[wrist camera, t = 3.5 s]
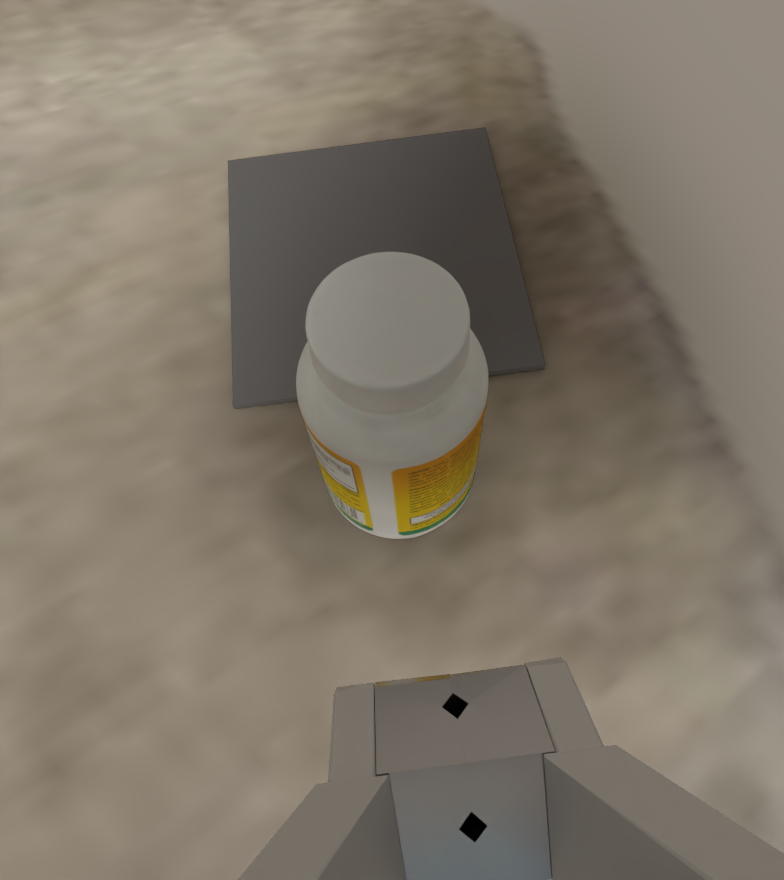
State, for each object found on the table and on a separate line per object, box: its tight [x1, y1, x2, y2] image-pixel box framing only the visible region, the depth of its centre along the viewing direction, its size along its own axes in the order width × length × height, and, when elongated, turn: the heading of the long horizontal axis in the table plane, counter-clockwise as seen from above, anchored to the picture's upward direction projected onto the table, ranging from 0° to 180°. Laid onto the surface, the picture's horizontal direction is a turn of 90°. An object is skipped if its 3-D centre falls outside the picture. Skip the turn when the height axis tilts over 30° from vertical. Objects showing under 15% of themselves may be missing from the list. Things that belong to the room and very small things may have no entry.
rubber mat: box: [228, 128, 545, 409], centre depth 29 cm, size 12×13×1 cm
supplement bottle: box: [296, 252, 489, 539], centre depth 21 cm, size 5×5×10 cm
